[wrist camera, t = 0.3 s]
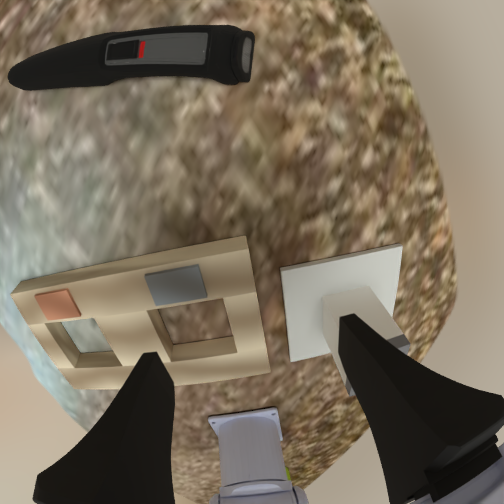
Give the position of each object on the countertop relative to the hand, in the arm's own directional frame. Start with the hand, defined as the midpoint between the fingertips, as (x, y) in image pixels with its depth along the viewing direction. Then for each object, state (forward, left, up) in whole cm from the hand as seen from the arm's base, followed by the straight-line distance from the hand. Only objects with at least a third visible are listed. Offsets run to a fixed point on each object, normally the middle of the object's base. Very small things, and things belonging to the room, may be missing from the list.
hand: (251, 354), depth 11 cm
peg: (-8, -8, -10) cm, 14 cm away
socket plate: (-6, +9, -10) cm, 15 cm away
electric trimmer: (+13, +4, -11) cm, 18 cm away
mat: (-8, -8, -10) cm, 15 cm away
